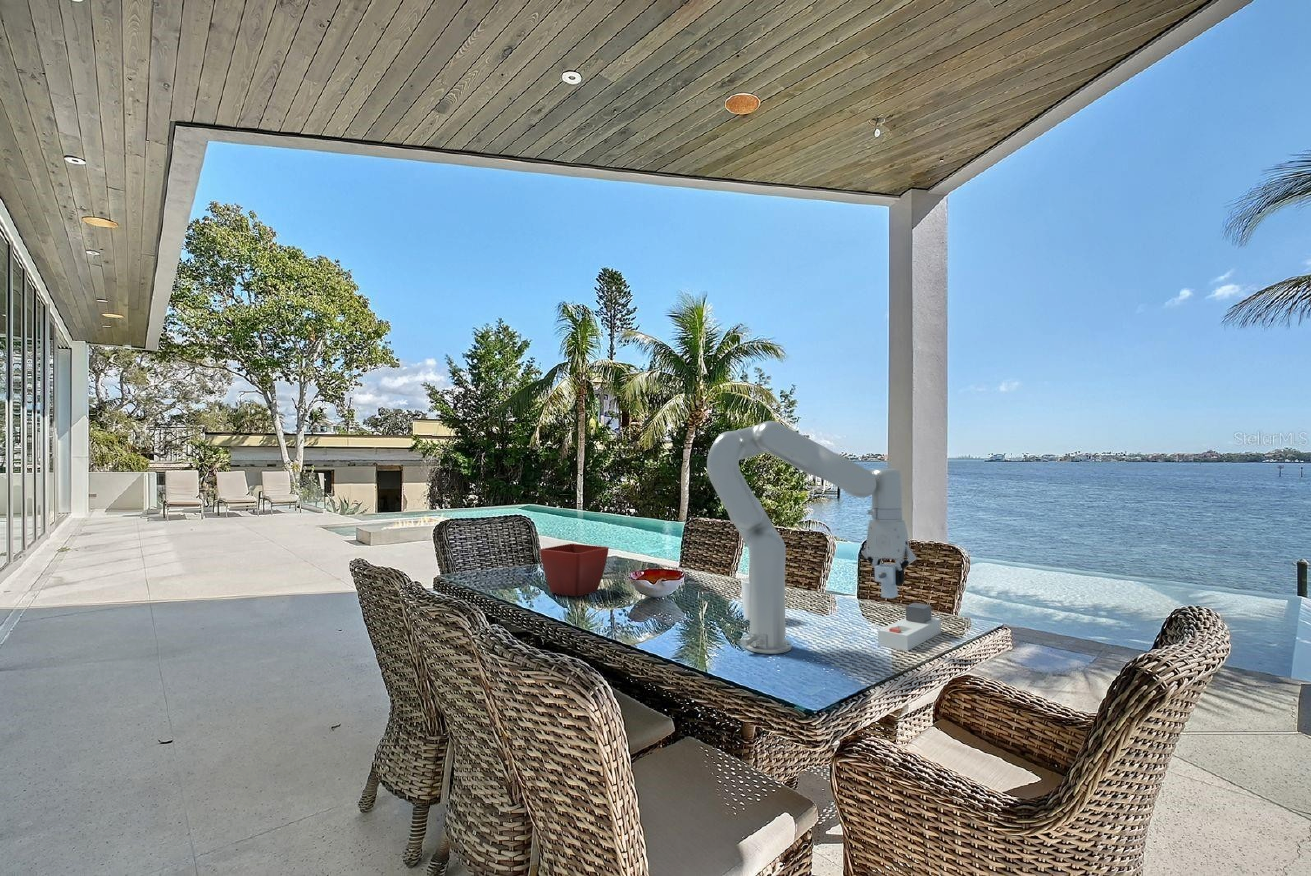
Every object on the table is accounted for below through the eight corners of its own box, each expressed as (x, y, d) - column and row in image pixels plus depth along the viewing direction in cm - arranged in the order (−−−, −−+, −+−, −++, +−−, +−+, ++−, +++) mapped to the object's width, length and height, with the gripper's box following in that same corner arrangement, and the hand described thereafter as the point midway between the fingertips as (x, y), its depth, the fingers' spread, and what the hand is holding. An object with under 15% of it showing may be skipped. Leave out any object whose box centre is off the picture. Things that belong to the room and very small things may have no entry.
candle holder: (777, 616, 210) (776, 579, 210) (765, 623, 201) (765, 584, 201) (748, 613, 215) (748, 576, 215) (736, 619, 206) (736, 581, 206)
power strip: (907, 651, 173) (907, 632, 173) (878, 645, 178) (878, 627, 178) (941, 632, 190) (940, 615, 190) (913, 627, 196) (913, 611, 196)
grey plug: (890, 601, 169) (889, 569, 169) (872, 598, 172) (871, 567, 173) (903, 596, 174) (902, 565, 174) (885, 593, 178) (884, 563, 178)
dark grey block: (923, 638, 185) (923, 608, 185) (906, 634, 188) (905, 606, 188) (933, 632, 190) (933, 604, 190) (916, 629, 194) (916, 601, 194)
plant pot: (610, 590, 251) (610, 546, 251) (578, 600, 235) (578, 553, 235) (571, 585, 261) (571, 543, 261) (538, 594, 245) (538, 549, 245)
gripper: (850, 514, 178) (852, 581, 177) (912, 517, 166) (914, 590, 165) (864, 512, 183) (866, 577, 183) (924, 515, 171) (927, 585, 171)
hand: (889, 582), depth 174 cm, fingers closed on grey plug, 4 cm apart
